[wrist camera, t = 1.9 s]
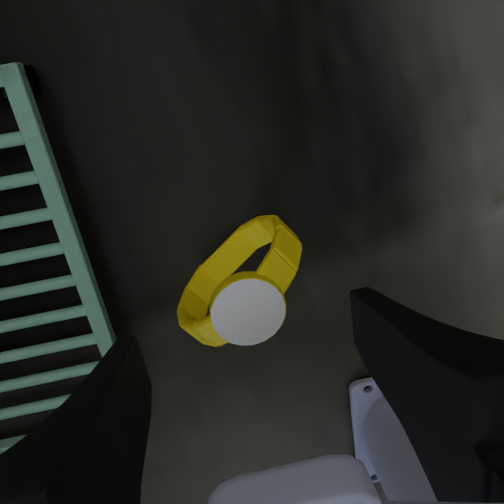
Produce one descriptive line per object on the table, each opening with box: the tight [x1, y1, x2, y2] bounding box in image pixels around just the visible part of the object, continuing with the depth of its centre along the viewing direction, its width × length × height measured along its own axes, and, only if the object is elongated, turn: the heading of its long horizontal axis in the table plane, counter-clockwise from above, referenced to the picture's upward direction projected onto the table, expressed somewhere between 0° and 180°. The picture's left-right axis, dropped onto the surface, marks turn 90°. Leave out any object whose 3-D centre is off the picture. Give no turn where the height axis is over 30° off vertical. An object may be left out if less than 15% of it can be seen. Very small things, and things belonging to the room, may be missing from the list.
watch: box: [177, 215, 302, 347], centre depth 19 cm, size 6×3×6 cm, turn 133°
